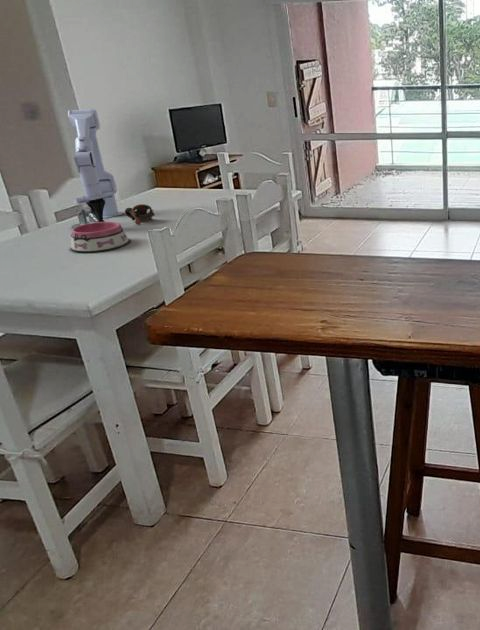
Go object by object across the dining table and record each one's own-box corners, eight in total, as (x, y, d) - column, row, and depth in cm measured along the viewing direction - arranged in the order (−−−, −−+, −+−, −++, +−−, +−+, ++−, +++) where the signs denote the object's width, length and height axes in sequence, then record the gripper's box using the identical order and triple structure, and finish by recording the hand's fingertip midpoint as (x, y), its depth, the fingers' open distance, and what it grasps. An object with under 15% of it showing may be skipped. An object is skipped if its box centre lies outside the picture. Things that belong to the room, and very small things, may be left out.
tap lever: (107, 226, 225) (106, 220, 224) (99, 228, 223) (99, 221, 221) (88, 213, 230) (87, 206, 228) (80, 215, 228) (79, 208, 226)
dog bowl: (140, 239, 211) (136, 221, 208) (102, 254, 195) (97, 235, 192) (99, 236, 216) (95, 219, 213) (59, 251, 199) (53, 232, 197)
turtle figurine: (159, 219, 240) (157, 204, 234) (151, 234, 234) (148, 219, 228) (130, 213, 239) (127, 198, 233) (121, 228, 233) (117, 213, 227)
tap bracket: (107, 226, 231) (102, 206, 228) (85, 231, 224) (80, 211, 221) (94, 223, 236) (89, 204, 233) (72, 228, 229) (66, 208, 226)
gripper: (77, 188, 210) (86, 224, 216) (115, 181, 221) (123, 216, 227) (67, 186, 214) (77, 222, 219) (105, 180, 225) (113, 214, 230)
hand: (99, 219), depth 223 cm, fingers closed, pressing on tap lever
